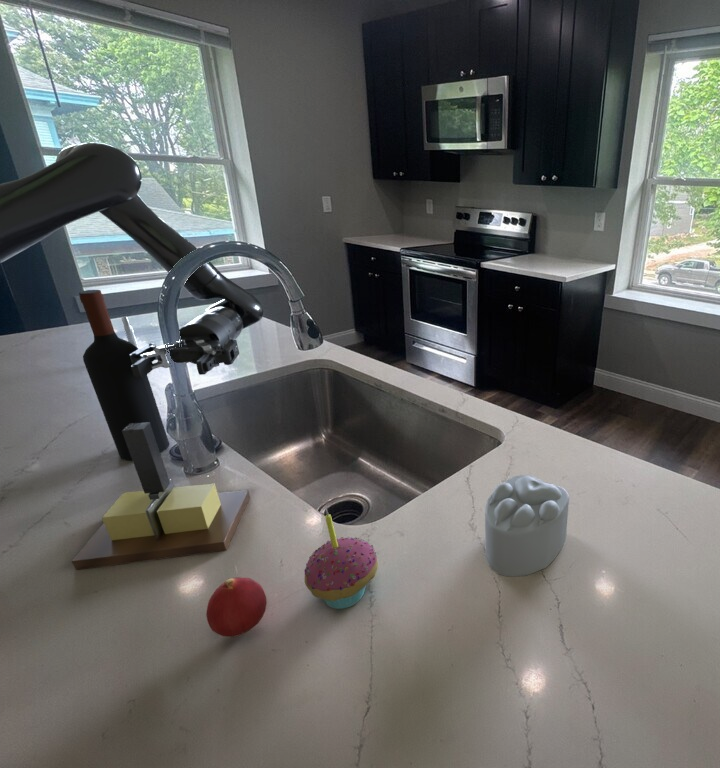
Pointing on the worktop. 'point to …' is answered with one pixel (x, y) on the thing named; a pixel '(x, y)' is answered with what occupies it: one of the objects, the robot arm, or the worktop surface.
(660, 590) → the worktop surface
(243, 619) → the onion
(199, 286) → the robot arm
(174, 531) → the butter
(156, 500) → the knife
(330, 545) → the cupcake
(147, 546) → the butter board
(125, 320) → the screw
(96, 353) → the wine bottle
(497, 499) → the lumpy-topped squat cylinder
